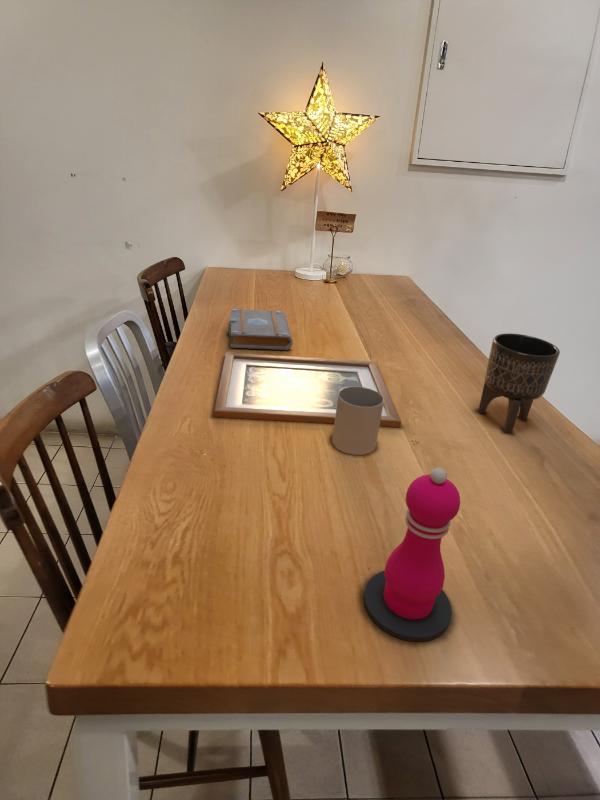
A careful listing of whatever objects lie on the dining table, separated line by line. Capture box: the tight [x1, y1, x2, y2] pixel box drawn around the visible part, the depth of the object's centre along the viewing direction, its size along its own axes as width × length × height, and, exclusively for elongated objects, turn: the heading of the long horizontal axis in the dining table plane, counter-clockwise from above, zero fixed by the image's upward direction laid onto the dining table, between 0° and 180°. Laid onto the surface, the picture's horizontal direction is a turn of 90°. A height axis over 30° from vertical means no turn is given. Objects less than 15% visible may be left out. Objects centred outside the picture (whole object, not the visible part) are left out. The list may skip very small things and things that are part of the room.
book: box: [228, 308, 294, 351], centre depth 149 cm, size 21×16×5 cm
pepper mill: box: [384, 467, 461, 620], centre depth 64 cm, size 7×7×20 cm
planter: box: [477, 333, 561, 434], centre depth 113 cm, size 13×13×18 cm
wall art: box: [213, 351, 402, 428], centre depth 122 cm, size 31×2×38 cm
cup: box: [331, 387, 384, 456], centre depth 101 cm, size 8×8×10 cm
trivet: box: [363, 570, 453, 643], centre depth 68 cm, size 11×11×1 cm
